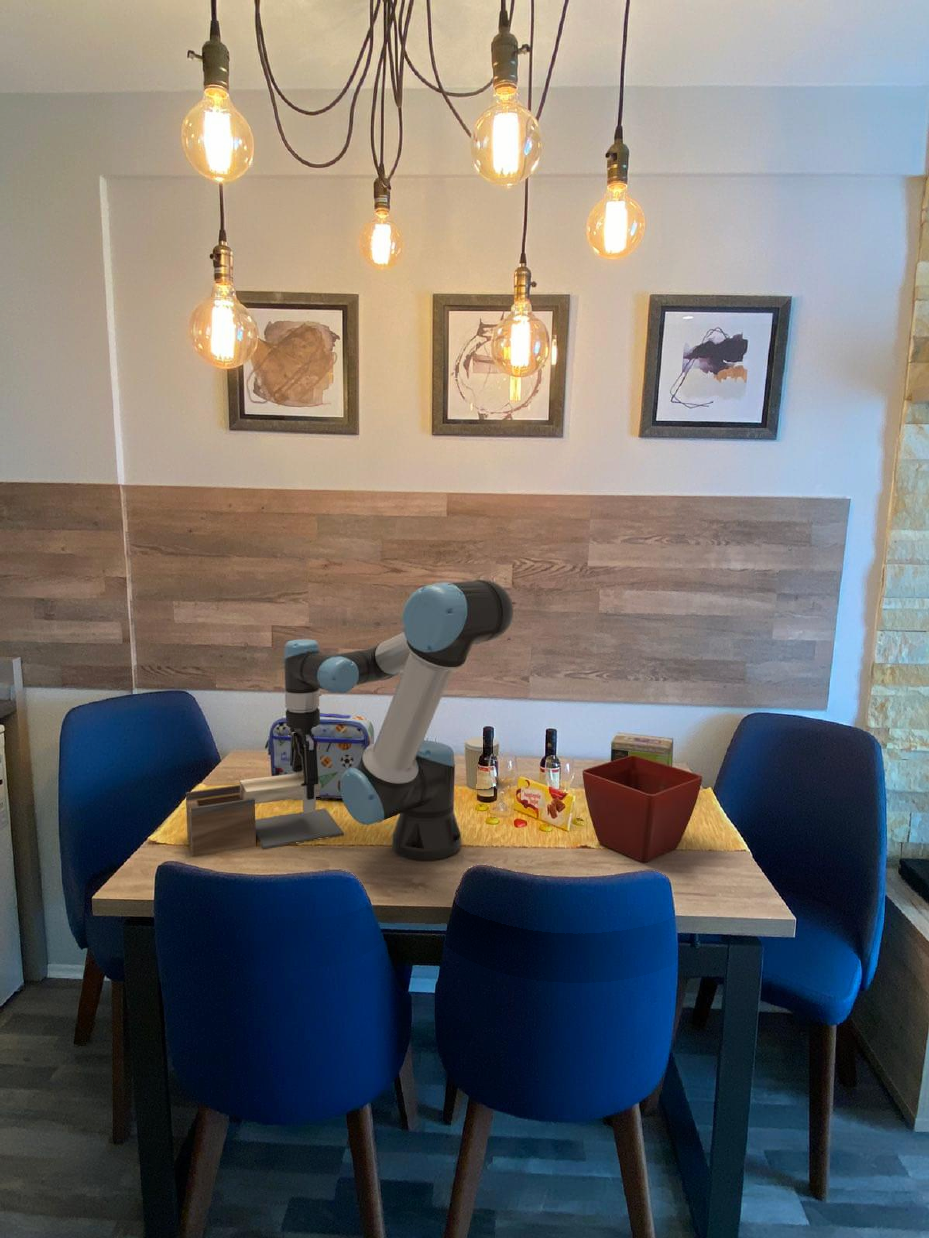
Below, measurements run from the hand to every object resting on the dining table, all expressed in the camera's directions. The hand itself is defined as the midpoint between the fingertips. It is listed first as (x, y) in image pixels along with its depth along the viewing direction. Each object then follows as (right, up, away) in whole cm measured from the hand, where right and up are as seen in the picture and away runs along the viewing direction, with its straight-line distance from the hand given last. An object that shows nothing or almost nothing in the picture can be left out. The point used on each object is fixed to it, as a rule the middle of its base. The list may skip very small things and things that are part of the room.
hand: (304, 805), depth 173 cm
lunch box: (-1, -3, +22) cm, 22 cm away
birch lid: (-5, +3, -3) cm, 7 cm away
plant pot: (+75, -8, -5) cm, 76 cm away
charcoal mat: (-2, -5, 0) cm, 6 cm away
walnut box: (-17, -6, -7) cm, 19 cm away
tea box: (+83, -4, +27) cm, 87 cm away
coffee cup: (+41, -2, +30) cm, 51 cm away
